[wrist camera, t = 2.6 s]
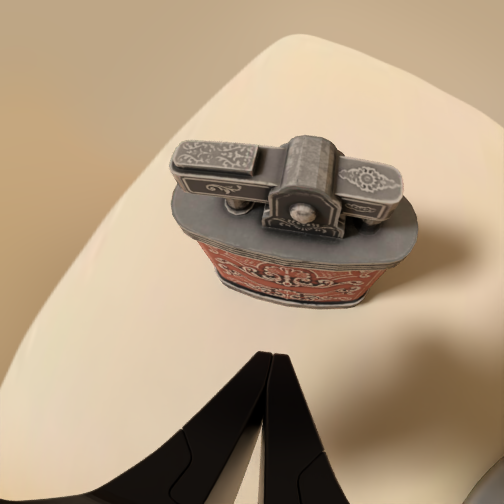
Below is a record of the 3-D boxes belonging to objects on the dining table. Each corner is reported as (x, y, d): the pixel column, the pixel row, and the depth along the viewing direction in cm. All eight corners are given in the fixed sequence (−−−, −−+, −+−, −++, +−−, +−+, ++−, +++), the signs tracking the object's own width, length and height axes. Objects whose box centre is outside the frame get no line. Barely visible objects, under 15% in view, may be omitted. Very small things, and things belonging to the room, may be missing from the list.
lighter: (369, 257, 16) (443, 136, 7) (363, 318, 15) (455, 250, 6) (225, 233, 18) (166, 102, 9) (210, 292, 17) (121, 199, 8)
